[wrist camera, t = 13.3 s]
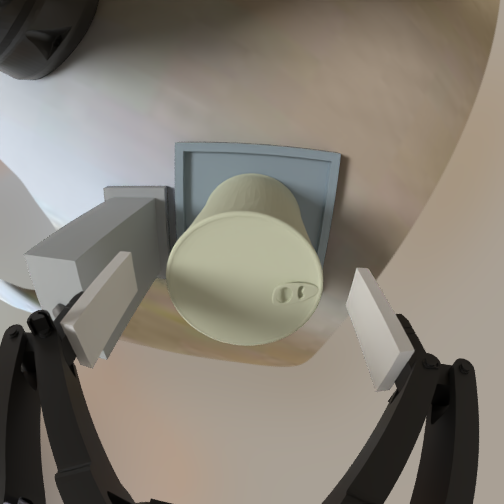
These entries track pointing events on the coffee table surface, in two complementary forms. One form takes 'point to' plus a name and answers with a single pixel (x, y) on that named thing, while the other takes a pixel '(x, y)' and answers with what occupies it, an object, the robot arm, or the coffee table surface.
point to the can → (246, 264)
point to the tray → (259, 162)
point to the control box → (104, 249)
